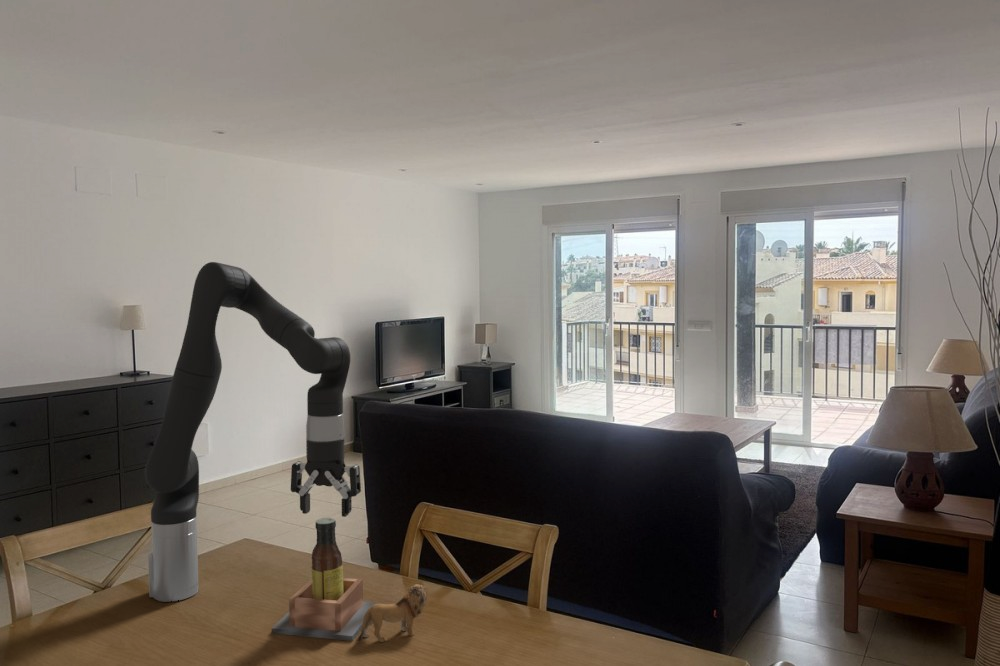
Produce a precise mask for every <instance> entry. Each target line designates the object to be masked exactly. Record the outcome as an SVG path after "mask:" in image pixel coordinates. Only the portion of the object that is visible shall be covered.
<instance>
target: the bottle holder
mask: <svg viewBox="0 0 1000 666" xmlns="http://www.w3.org/2000/svg"><path fill="white" fill-rule="evenodd" d="M363 581H364V579H361V578H360V579H359V578H348V577H343V592H344V594H343V595H342V596H341V597H340V598H339V599H338V601H335V600H323V599H313V590H312V578H311V579H309V581H307V582H306V584H304V585H303V586H301V588H300V589H299V590H298V591H297V592H296V593H294V594H293V595H292V596H291V597H290V598H289V599H288V603H289V605H288V606H289V608H288V609H289V611H288V612H287V613H286V614H285V615H283V617H282V618H281V619H280V620H279V621H278V622H276V624H275V625H273V626H272V627H271V634H276V635H286V636H299V637H307V638H308V637H309V638H319V639H327V640H328V639H329V640H339V641H349V642H353V641H354V640H355V639H356V637H357V636H358V635H360V634H359V633H361V630H362V624H363V620H364V616H365V614H366V612H367V610H368V609H369V608H370V607H371V606H373V605H375V604H380V602H378V601H377V602H376V601H365V600H364V582H363ZM367 619H368V618H367Z"/></svg>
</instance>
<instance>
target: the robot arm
mask: <svg viewBox="0 0 1000 666" xmlns="http://www.w3.org/2000/svg"><path fill="white" fill-rule="evenodd" d="M191 296H192V297H191V302H190V308H189V313H188V317H187V318H188V319H187V323H186V324H187V325H186V328H185V333H184V336H183V341H182V345H181V348H180V351H179V352H180V353H179V356H178V358H177V361H176V365H175V368H174V372H173V375H172V379H171V384H170V388H169V391H168V396H167V400H166V403H165V407H164V411H163V417H162V421H161V426H160V428H159V432H158V434H157V437H156V439H155V442H154V444H153V447H152V448H151V451H150V454H149V456H148V459H147V462H146V465H145V467H144V478H145V482H146V484H147V485H148V486H149V488H150V489H151V490H152V491H154V492H155V499H154V502H153V505H152V507H151V509H150V522H151V523H150V524H151V553H149V554H148V557H147V563H148V564H147V566H148V568H147V569H148V588H149V589H148V592H149V594H148V596H149V598H153V599H154V600H155V601H158V602H163V603H167V602H169V603H171V601H172V602H178V600H179V601H182V600H185V599H189V598H191V597H193V596H195V595H196V594H197V593H198V591H199V561H198V559H199V558H198V556H199V555H198V527H197V525H198V523H197V521H198V520H197V519H198V518H197V508H198V502H199V498H200V466H199V459H198V457H197V455H196V453H195V451H194V450H193V449H192V448H193V444H194V441H195V437H196V434H197V431H198V429H199V427H200V425H201V423H202V422H203V420H204V417H205V416H206V415H207V413H208V410H209V408H210V406H211V404H212V402H213V400H214V397H215V394H216V391H217V389H218V383H219V380H220V377H221V373H222V368H223V366H222V365H223V364H222V363H223V362H222V358H221V357H222V356H221V352H220V349H219V345H218V341H217V335H216V326H217V321H218V317H219V313H220V309H221V307H223V308H233V309H237V310H240V311H242V312H245V313H247V314H249V315H250V316H252V318H254V319H255V320H256V321H257V322H258V324H259V326H260V328H261V330H262V331H263V332H264V333H265V334H266V336H268V337H269V338H270V339H272V341H274V342H275V343H277V344H278V345H280V346H281V347H282V348H284V349H285V350H287V351H288V353H289V355H290V356H291V357H292V359H293V360H294V361H295V362H296V364H297V365H298V366H299V368H301V369H302V370H304V371H305V372H307V373H310V374H311V375H312V374H313V375H320V378H319V381H317V383H316V384H313V385H312V386H311V387H309V388H308V390H307V399H306V401H307V404H306V405H307V406H306V407H307V415H306V416H307V417H306V423H305V424H306V425H305V427H306V428H305V432H306V433H305V434H306V437H305V440H306V442H305V443H306V448H305V449H306V450H305V451H306V454H305V455H306V462H302V460H298V461H296V462H294V463H292V465H291V475H290V491H291V492H292V493H296V494H298V496H299V509H300V511H301V513H302V514H304V515H307V514H308V513H310V512H311V493H310V491H311V490H312V488H313V487H314V486H318V487H321V486H325V487H328V488H330V487H333V488H334V489H335V490H336V492H338V493H339V494H340V495H341V497H342V498H341V517H343V518H344V517H347V516H349V514H350V513H352V510H353V509H352V508H353V507H352V497H356V496H358V495H359V494H360V493H361V492H362V487H361V485H362V484H361V483H362V482H361V471H360V468H361V467H360V465H359V464H354V465H346V463H345V435H346V431H345V422H344V421H345V420H344V397H343V394H344V391H345V387H346V385H347V384H346V383H347V379H348V374H349V370H350V366H351V352H350V348H349V346H348V344H347V343H346V341H345V340H344V339H342V338H340V337H336V336H334V337H333V336H332V337H324V338H322V337H321V338H320V337H319V338H317V337H315V336H316V335H315V329H314V327H313V326H312V325H311V324H310V323H309V322H308V321H306V320H305V319H303V318H302V317H301V316H299V315H298V314H296V313H294V312H293V311H292V310H290V309H288V308H287V307H286V306H284V304H282V303H280V302H279V301H278V300H276V299H275V298H274V297H273V296H272V295H271V294H270V293H268V291H267V290H266V289H265V288H264V287H262V285H260V283H259V282H258V281H257V280H256V279H255V278H254V277H253V276H252V275H251V274H250V273H248V271H247V270H245V269H243V268H241V267H238V266H235V265H230V264H227V263H226V264H225V263H221V262H215V261H211V262H208V263H205V264H204V265H203V266H202V267H201V268H200V269H199V271H198V273H197V275H196V278H195V281H194V284H193V290H192V295H191ZM304 472H306V473H307V475H308V476H309V477H308V479H306V481H305V482H304V483H303V482H302V480H303V473H304ZM345 473H346V474H347V476H348V477H349V483H350V484H349V483H348V481H347V480H346V478H345V477H344V476H343V475H345ZM302 484H303V485H302Z"/></svg>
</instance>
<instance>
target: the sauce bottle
mask: <svg viewBox="0 0 1000 666" xmlns="http://www.w3.org/2000/svg"><path fill="white" fill-rule="evenodd" d="M336 526H337V522H336V519H335V518H332V517H324V518H320V519H317V520H316V521H315V530H316V544H315V545H314V548H313V549H312V551H311V579H312V590H313V599H323V600H335V601H338V599H339V598H340V597H341V596H342V595H343V594H344V592H343V578H344V572H343V571H344V569H343V556H342V553H341V551H340V549H339V546H338V544H337V543H338V542H337V539H336Z"/></svg>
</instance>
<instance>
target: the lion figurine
mask: <svg viewBox="0 0 1000 666" xmlns="http://www.w3.org/2000/svg"><path fill="white" fill-rule="evenodd" d="M427 599H428V594H427V592H426V586H423V585H422V584H421V585H420V584H418V583H416V584H413V586H410V587H409V588H408V592H407V593H405V594H404V595H403V597H402V598H401V599H400V600H399V601H397V602H395V603H388V604H385V603H379V604H375V605H373V606H371V607H370V608H369V609H368V610H367V612H366V614H365V616H364V620H363V624H362V630H361V631H360V634H359V636H358V637H357V639H356V642H360V641H361V640H362V639H363V638H368V637H369V635H370V633H369V632H367V630H368V628H370V627H371V626H372V625H373V627H374V631H373V635H374V636H375V638H376V640H378V642H379V643H380V642H381V643H384V642H385V641H386V639H385V636H381V635H380V632H381V631H380V630H381V627H382V625H383V620H384V621H385V622H386V623H393V624H394V623H395V624H396V623H399V622H401V625H400V626H401V627H400V628H401V630H402V631H403V632H407V634H408V636H409V637H413V636H415V634H416V633H415V631H413V626H414V619H416V618H418V617H420V615H421V614H422V612H423V610H424V608H425V607H426V601H427ZM367 618H368V619H367Z"/></svg>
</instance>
